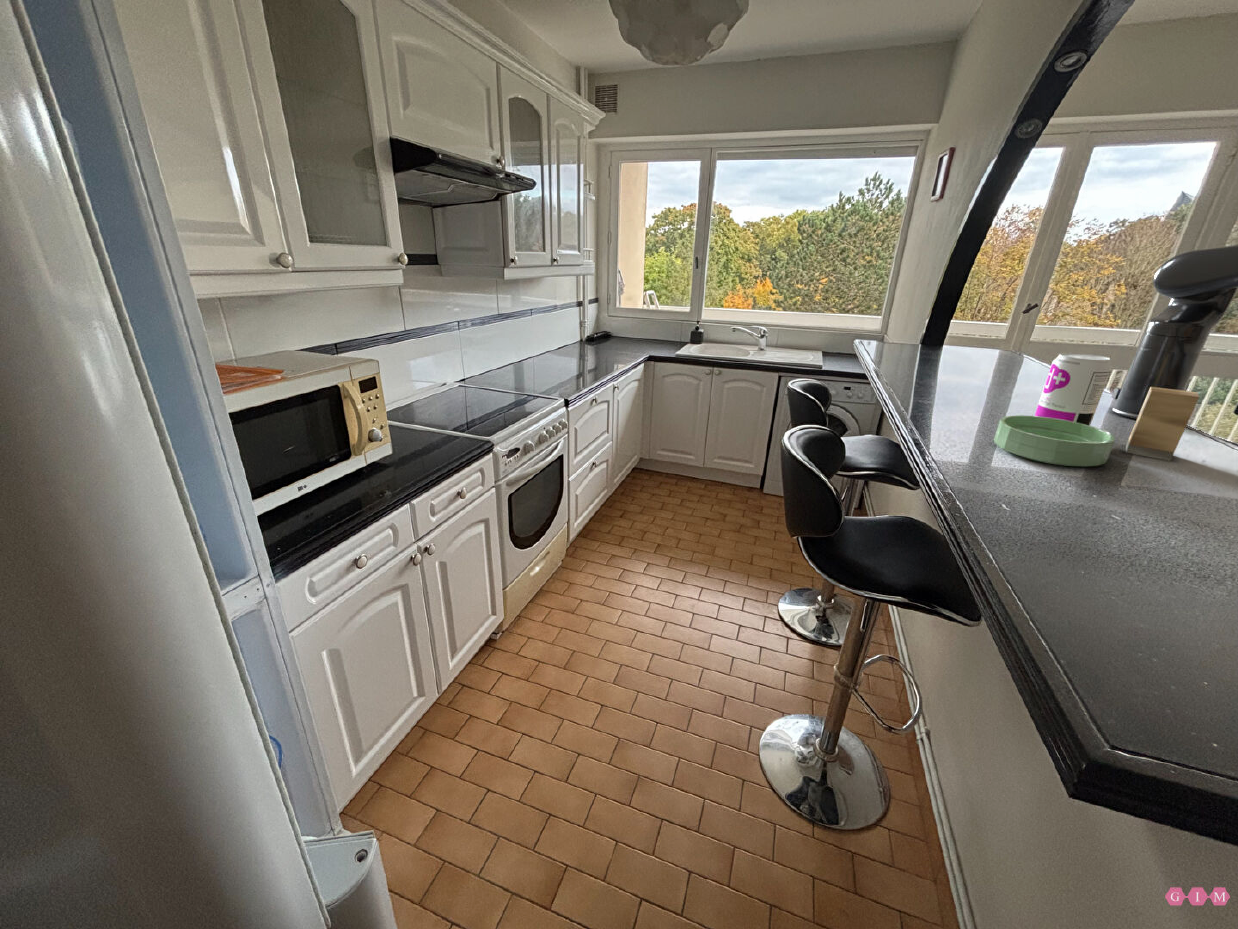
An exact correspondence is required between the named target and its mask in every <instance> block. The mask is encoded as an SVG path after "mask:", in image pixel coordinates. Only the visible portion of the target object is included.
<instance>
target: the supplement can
mask: <svg viewBox="0 0 1238 929" xmlns="http://www.w3.org/2000/svg"><path fill="white" fill-rule="evenodd" d="M1112 370H1113V367H1112V364H1111V358H1110V357H1107V356H1102V355H1096V354H1087V353H1076V352H1075V353H1074V352H1062V353H1061V352H1060V353H1059V354H1058V355H1057V357H1056V358H1055V359H1054V360H1052V363H1051V366H1050V369H1049V371H1048V374H1047V378H1046V379H1045V383H1044V386H1043V389H1042V393H1041V395H1040V398H1039V401H1038V404H1037V407H1036V410H1035V413H1034V416H1040V417H1049V418H1056V419H1062V420H1068V421H1072V422H1077V423H1081V424H1086V425H1089V426H1092V425H1091V424H1092V421H1093V419H1094V416H1095V414H1096V411H1097V409H1098V406H1099V403H1100V402H1101V398H1102V395H1103V392H1104V390H1105V389H1106V385H1107V383H1108V381H1109V380H1108V379H1109V377H1110V375H1111V372H1112Z"/></svg>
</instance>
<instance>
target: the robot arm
mask: <svg viewBox="0 0 1238 929" xmlns="http://www.w3.org/2000/svg"><path fill="white" fill-rule="evenodd" d="M1152 285H1153V288H1154V289H1155V291H1156V292H1157V293H1158V294H1160V295H1161V296H1163V297H1165V298H1167V299H1170V300H1169V302H1168V304H1167V305H1166V307H1165V308H1164V310H1162V312H1160V313H1159V314H1157V315H1156V316H1153V317H1152V318H1151V319H1149V320H1148V322H1147V323H1146V325H1145V327H1144V331H1143V332H1142V336H1141V338H1140V341H1139V343H1138V346H1137V348H1136V351H1135V354H1134V356H1133V359H1132V361H1131V363H1130V366H1129V369H1128V371H1127V373H1126V376H1125V379H1124V381H1123V383H1122V387H1114V389H1113V392H1112V394H1111V398H1112V399H1113V400H1116V401H1115V404H1114V406H1113V407H1112V410H1111V412H1112V413H1113V414H1115V415H1118V416H1121V417H1125V418H1129V419H1134V420H1137V418H1138V416H1139V413H1140V411H1141V408H1142V406H1143V404H1144V401H1145V399H1146V396H1147V394H1148V392H1149V389H1150V387H1157V388H1165V389H1173V390H1182V391H1186V389H1187V386H1188V384H1189V381H1190V379H1191V377H1192V375H1193V373H1194V370H1195V368H1196V366H1197V364H1198V361H1199V359H1200V357H1201V354H1202V352H1203V350H1204V347H1205V345H1206V343H1207V340H1208V338H1209V336H1210V334H1211V332H1212V330H1213V329H1214V328H1215V327H1216V326H1217V325H1218V324H1219V323H1220V322H1221V321H1222V319H1223V317H1224V316H1225V314H1226V312H1227V310H1228V308H1229V307H1230V305H1231V302H1233V299H1234V297H1235V294H1236V292H1238V291H1237V290H1238V245H1237V244H1235V245H1229V246H1222V247H1212V248H1211V247H1210V248H1203V249H1191V250H1186V251H1184V252H1181V253H1178V254H1176V255H1174V256H1172V257H1170V258H1169V259H1167V260H1166V261H1165V262H1163V263H1162V264H1161V265H1160V266H1159V267H1158V269H1156V271H1155V273H1154V275H1153V278H1152ZM1232 413H1233V414H1234V415H1235V416H1238V402H1237V403H1236V405H1235V407H1234V408H1233V412H1232Z"/></svg>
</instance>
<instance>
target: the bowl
mask: <svg viewBox="0 0 1238 929" xmlns="http://www.w3.org/2000/svg"><path fill="white" fill-rule="evenodd" d="M993 438H994V439H993V442H994V444H995V445H996V446H998V448H1001V449H1003V450H1005V451H1007V452H1009V453H1012V454H1014V455H1016V456H1018V457H1021V458H1023V459H1026V460H1027V459H1028V460H1032V461H1035V462H1040V463H1044V464H1050V465H1054V466H1063V467H1097V466H1101V465H1104V464H1106V463H1107V461H1108V459H1109V456H1110V454H1111V451H1112V449H1113V446H1114V444H1115V442H1116V437H1115V436H1114V435H1113V434H1112V433H1111V432H1108V431H1106V430H1104V429H1101V428H1098V427H1095V426H1092V425H1090V426H1089V425H1086V424H1081V423H1077V422H1072V421H1068V420H1062V419H1056V418H1049V417H1040V416H1035V415H1024V414H1022V415H1021V414H1020V415H1017V414H1016V415H1007V416H1003V417H1001V418H1000V420H999V421H998V425H997V429H996V431H995V434H994V437H993Z"/></svg>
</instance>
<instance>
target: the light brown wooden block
mask: <svg viewBox="0 0 1238 929" xmlns="http://www.w3.org/2000/svg"><path fill="white" fill-rule="evenodd" d="M1199 399H1200V396H1199V394H1198V392H1197V391H1189V390H1185V391H1182V390H1173V389H1165V388H1157V387H1150V389H1149V392H1148V394H1147V396H1146V399H1145V401H1144V404H1143V406H1142V408H1141V411H1140V413H1139V416H1138V418H1137V419H1135V420H1136V421H1135V423H1134V425H1133V428H1132V430H1131V432H1130V434H1129V437H1128V440H1127V442H1126V444H1125V453H1126V454H1131V455H1137V456H1142V457H1148V458H1152V459H1158V460H1162V461H1163V460H1164V461H1169V462H1170V461H1171V460H1172V458H1173V456H1174V454H1175V451H1176V449H1177V447H1178V445H1179V443H1180V440H1181V438H1182V436H1183V434H1184V432H1185V430H1186V427H1187V425H1188V423H1189V421H1190V419H1191V418H1192V417H1191V416H1192V414H1193V412H1194V410H1195V408H1196V406H1197V404H1198V402H1199Z"/></svg>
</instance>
